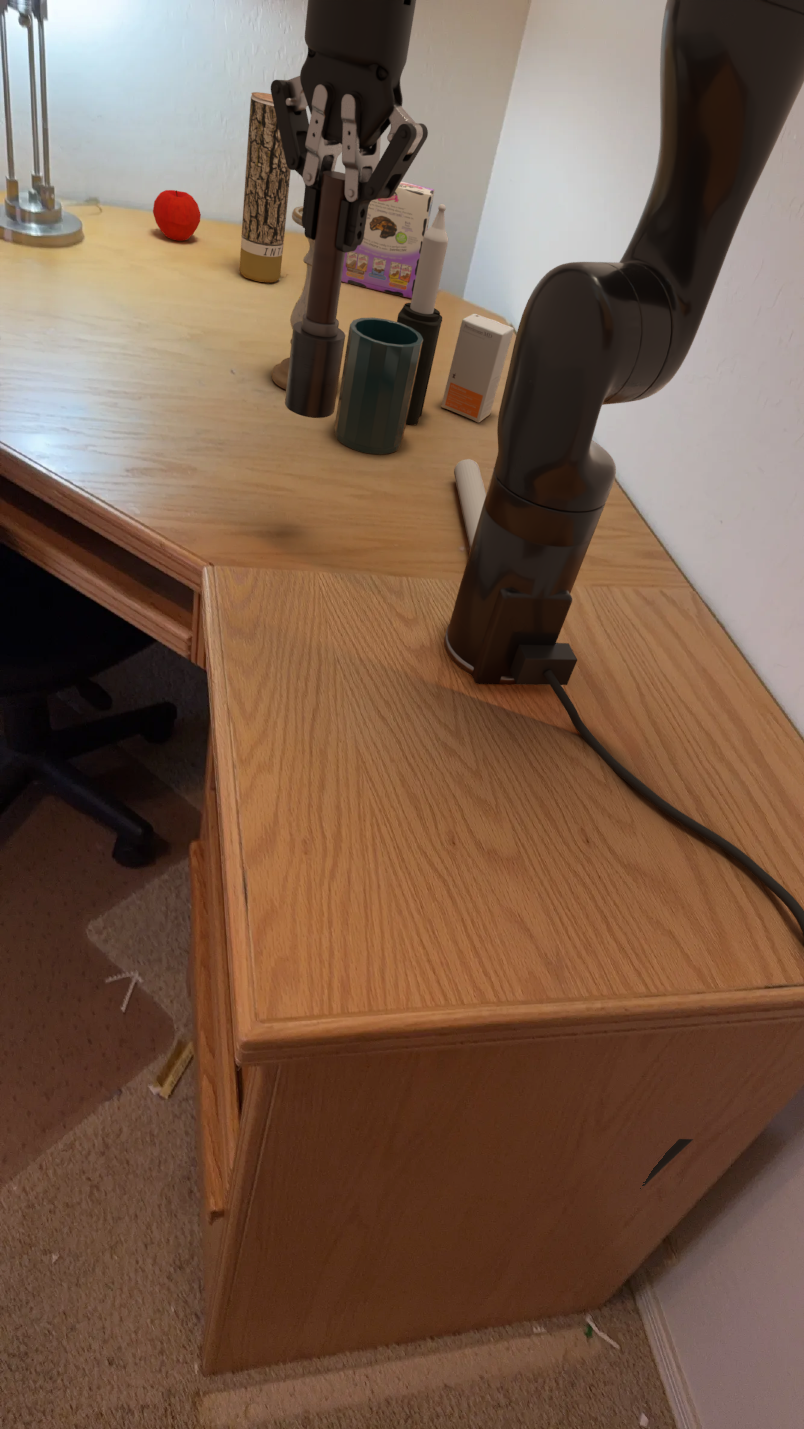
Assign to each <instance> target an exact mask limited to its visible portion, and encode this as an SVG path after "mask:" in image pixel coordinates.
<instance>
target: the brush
mask: <svg viewBox="0 0 804 1429" xmlns="http://www.w3.org/2000/svg"><path fill="white" fill-rule="evenodd" d="M345 199H346V197H345V172H340V171H335V170H334V171H324V172H323V175H322V183H321V192H320V200H319V209H318V217H317V226H316V234H315V243H314V252H313V260H312V269H311V277H310V286H309V294H308V303H307V312H306V313H304V314H303V316H302V321H299V322H296V323H295V324H294V325H293V329H292V333H291V339H292V341H291V340H290V341H291V343H290V351H289V357H290V360H289V369H288V378H287V387H286V389H285V397H284V405H285V407H286V409H288V410H289V411H290V412H292V413H294V414H296V415H299V416H302V417H305V418H313V419H323V418H329V417H331V416H333V414H334V413H335V407H336V401H337V395H338V394H337V393H338V388H339V381H340V373H341V367H342V361H343V354H344V347H345V341H346V340H345V339H346V333H345V331H343V330H342V329H341V328H339V325H340V321H339V319H337V315H338V307H339V301H340V292H341V288H342V287H341V285H342V282H341V279H342V272H343V265H344V258H345V253H344V252H341V251H339V250H337V249H336V239H337V232H338V224H339V217H340V209H341V201H342V200H345Z"/></svg>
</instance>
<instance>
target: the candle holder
mask: <svg viewBox="0 0 804 1429" xmlns="http://www.w3.org/2000/svg"><path fill="white" fill-rule="evenodd" d="M302 213H303V205H302V206H296V207H295V208H294V209H293V210H292V212H291V220H292V221H293V222H294V223H295V224H297V225H299V226H301V227H303V226H302ZM306 239H307V241H308V245H309V246H308V251H307V253H306V254H305V256H304V257H303V258H302V261H303V262H304V264H305V265H306V273H305V277H304V285H303V288H302V291H301V294H300V296H299V298H298V299H297V301H296V303H295V304H294V306H293V309H292V310H291V314H290V319H289V321H290V326H291V329H292V330H293V325H294V324H295V323H296V322H299V321H302V316H303V314H304V313H306V312H307V303H308V294H309V286H310V277H311V269H312V260H313V252H314V243H315V240H312V239H310V238H307V237H306ZM291 341H292V338H290V341H289V344H291ZM289 360H290V356H289V357H286V358H284V359H282V360H281V362H279V363H278V364H275V365H274V366H273V367H272V370H271V380H272V381H273V382H274V384H275V385H277V386H278V387H279V388H282V390H283V389H284V390H286V387H287V378H288V369H289Z"/></svg>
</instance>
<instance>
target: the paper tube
mask: <svg viewBox="0 0 804 1429" xmlns="http://www.w3.org/2000/svg"><path fill="white" fill-rule="evenodd" d="M250 94H251V96H250V103H249V104H250V105H249V117H248V131H247V132H248V134H247V148H246V162H245V178H244V190H243V191H244V192H243V206H242V207H243V208H242V221H241V222H242V223H241V224H242V225H241V238H240V251H239V252H240V253H239V266H238V267H239V272H240V274H241V275H242V276H243V277H245V278H246V279H248V280H251V281H255V282H260V283H275V282H277V281H278V280H279V279H280V278H281V273H282V264H283V253H284V242H285V235H286V234H285V233H286V223H287V212H288V202H289V201H288V200H289V191H290V182H291V173H292V172H291V171H292V170H290V169H289V168H288V167H287V164H286V160H285V155H284V151H283V146H282V141H281V137H280V132H279V127H278V122H277V118H276V113H275V108H274V104H273V99H272V94H271V93H267V92H260V91H259V92H258V91H253V92H251V93H250Z"/></svg>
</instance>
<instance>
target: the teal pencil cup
mask: <svg viewBox="0 0 804 1429" xmlns="http://www.w3.org/2000/svg"><path fill="white" fill-rule="evenodd" d="M348 328H349V329H348V334H347V342H346V348H345V354H344V361H343V367H342V374H341V381H340V388H339V394H338V402H337V408H336V415H335V421H334V430H333V431H334V432H333V433H334V436H335V438H336V439H337V441H338V442H339V443H341V444H342V445H343V446H345V447H347V448H349V449H352V450H353V451H354V450H355V451H357V452H360V453H365V454H369V455H370V454H371V455H389V454H392V453H393V454H394V453H396V452H397V451H399V450H400V448H401V447H402V443H403V439H404V437H405V436H404V435H405V431H406V426H407V424H406V421H407V416H408V411H409V407H410V402H411V397H412V392H413V387H414V382H415V378H416V373H417V368H418V363H419V358H420V353H421V349H422V344H423V338H422V336H421V334H420V333H419V332H417V331H416V330H414V329H413V328H411V327H409V326H406V325H404V324H402V323H399V322H397V321H394V320H390V319H387V318H381V317H380V318H379V317H360V318H356V319H353V320H352V321H351V323H350V324H349V327H348Z"/></svg>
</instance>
